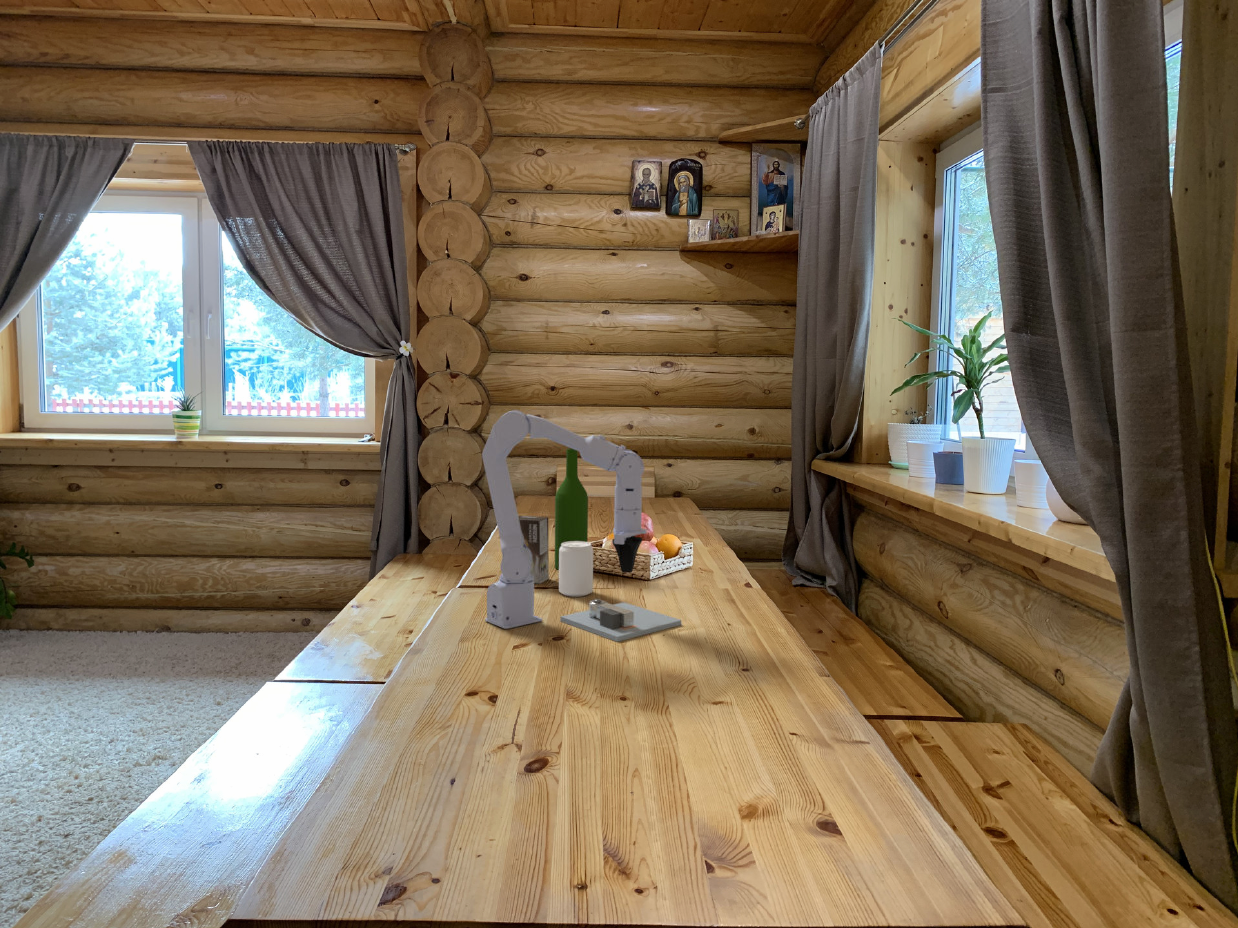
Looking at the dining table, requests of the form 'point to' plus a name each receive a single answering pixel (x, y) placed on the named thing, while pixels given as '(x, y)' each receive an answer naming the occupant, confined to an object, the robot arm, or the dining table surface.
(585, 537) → the wine bottle
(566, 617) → the latch board
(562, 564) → the beverage can
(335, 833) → the dining table surface
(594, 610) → the latch bar
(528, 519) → the coffee box
